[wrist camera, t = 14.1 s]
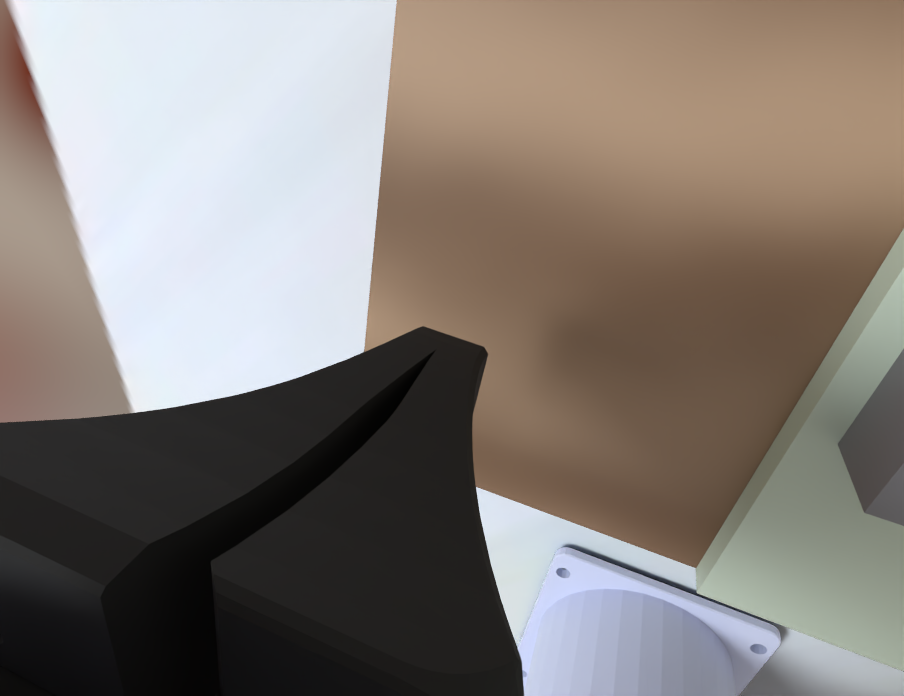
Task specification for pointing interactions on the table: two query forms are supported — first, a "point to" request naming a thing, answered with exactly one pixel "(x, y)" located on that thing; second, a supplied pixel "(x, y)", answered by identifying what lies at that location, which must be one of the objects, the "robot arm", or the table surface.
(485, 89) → the brown wooden shallow box
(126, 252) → the table surface
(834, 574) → the lid
